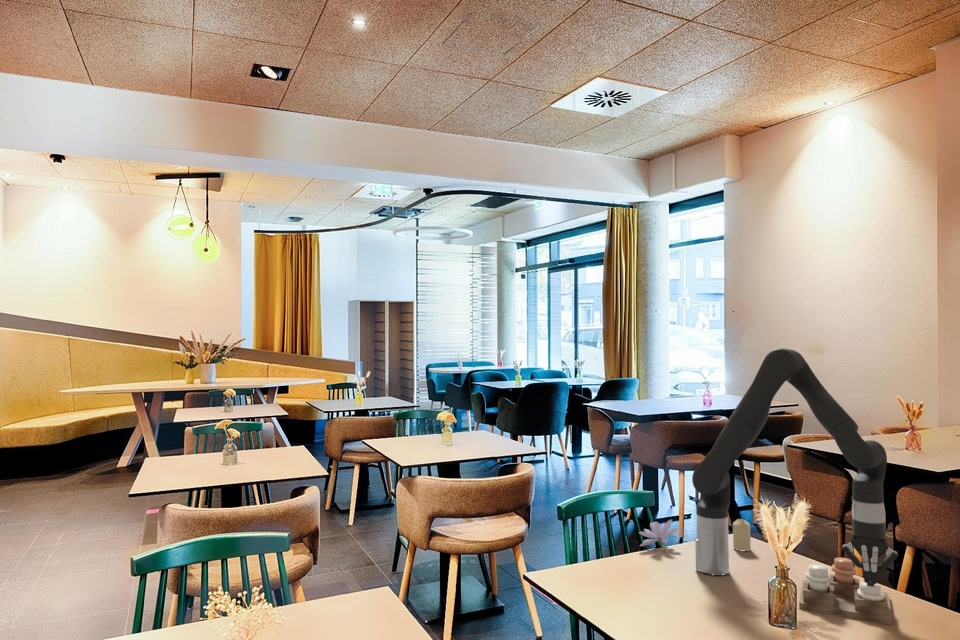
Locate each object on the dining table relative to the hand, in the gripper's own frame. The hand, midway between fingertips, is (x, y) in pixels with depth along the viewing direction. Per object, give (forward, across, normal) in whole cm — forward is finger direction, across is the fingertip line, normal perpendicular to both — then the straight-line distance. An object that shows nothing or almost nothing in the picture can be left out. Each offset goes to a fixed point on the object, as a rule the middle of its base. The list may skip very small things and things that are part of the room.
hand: (870, 584), depth 168 cm
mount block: (+8, -6, +4) cm, 11 cm away
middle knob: (+3, -6, +10) cm, 12 cm away
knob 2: (+6, 0, 0) cm, 6 cm away
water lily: (+8, -62, +28) cm, 68 cm away
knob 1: (+3, -12, 0) cm, 13 cm away
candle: (+8, -37, +39) cm, 54 cm away
